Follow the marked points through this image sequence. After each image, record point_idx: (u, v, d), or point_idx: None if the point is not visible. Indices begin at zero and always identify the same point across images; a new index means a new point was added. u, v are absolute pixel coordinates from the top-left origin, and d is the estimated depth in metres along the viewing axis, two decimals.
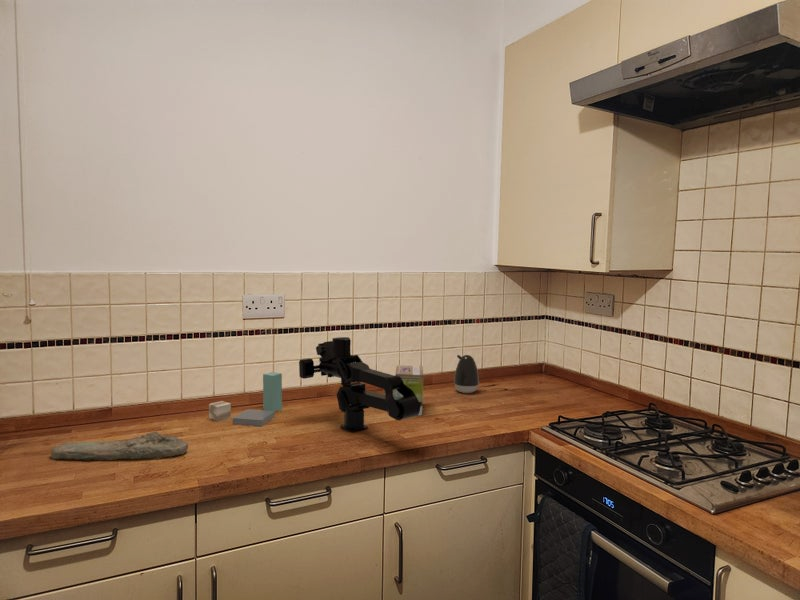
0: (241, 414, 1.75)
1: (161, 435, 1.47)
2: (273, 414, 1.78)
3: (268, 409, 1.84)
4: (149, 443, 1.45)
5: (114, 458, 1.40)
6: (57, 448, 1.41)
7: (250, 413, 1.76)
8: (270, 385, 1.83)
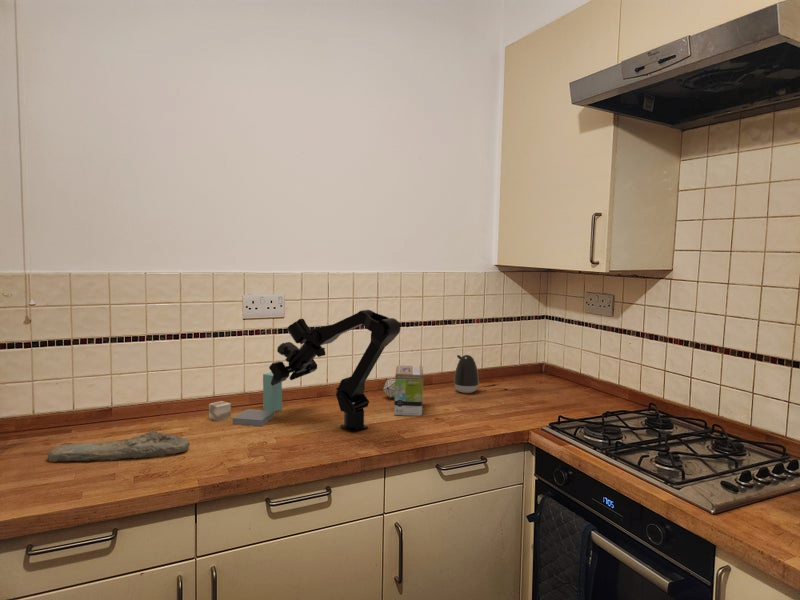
0: (241, 414, 1.75)
1: (161, 434, 1.48)
2: (273, 414, 1.78)
3: (268, 409, 1.84)
4: (150, 442, 1.45)
5: (116, 458, 1.40)
6: (54, 451, 1.40)
7: (250, 413, 1.76)
8: (270, 384, 1.83)
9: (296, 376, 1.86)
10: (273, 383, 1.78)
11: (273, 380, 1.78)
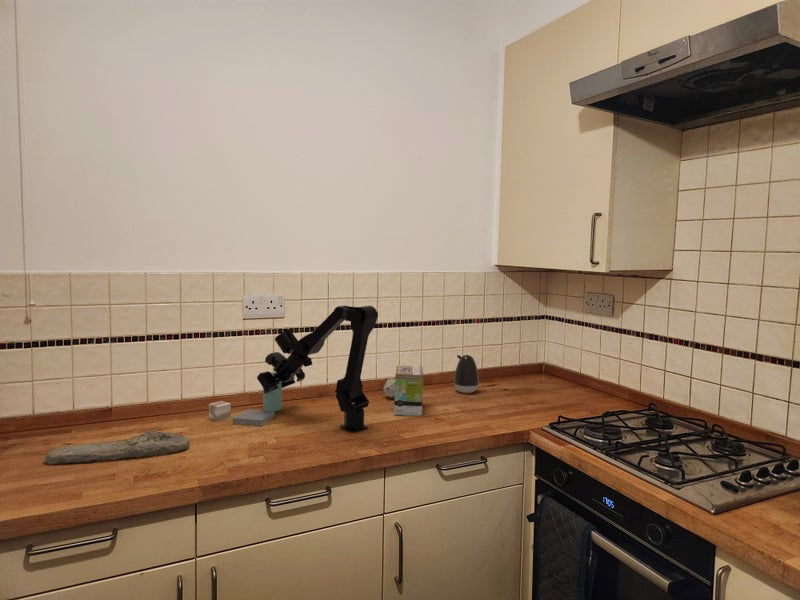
0: (241, 414, 1.75)
1: (161, 432, 1.49)
2: (273, 414, 1.78)
3: (268, 409, 1.84)
4: (151, 441, 1.46)
5: (118, 458, 1.40)
6: (52, 453, 1.38)
7: (250, 413, 1.76)
8: None
9: None
10: (266, 391, 1.83)
11: None
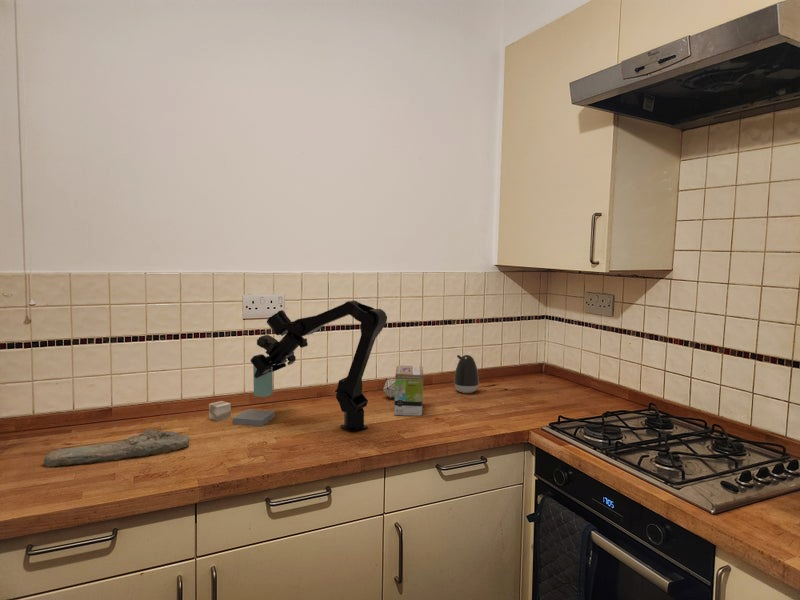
0: (241, 414, 1.75)
1: (161, 431, 1.50)
2: (273, 414, 1.78)
3: (260, 394, 1.79)
4: (151, 440, 1.47)
5: (120, 457, 1.40)
6: (51, 455, 1.36)
7: (250, 413, 1.76)
8: None
9: None
10: (257, 375, 1.77)
11: (257, 372, 1.77)
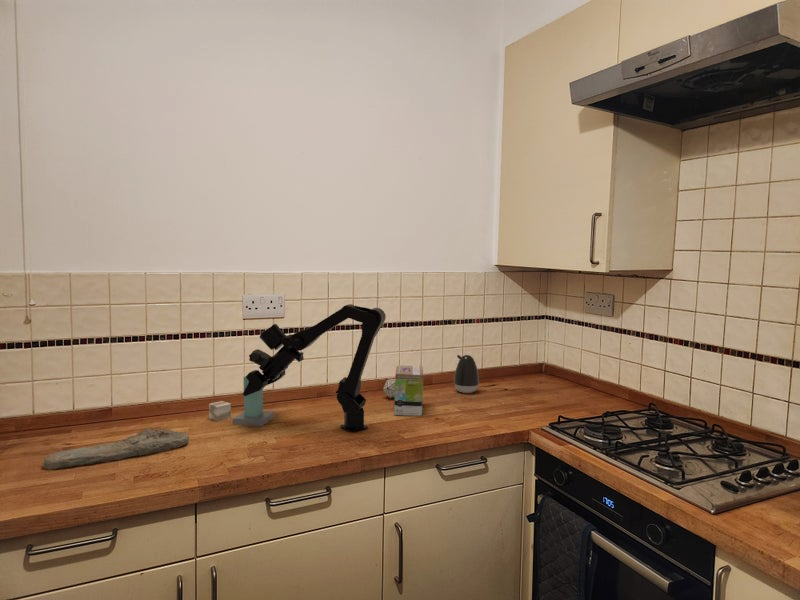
0: (241, 414, 1.75)
1: (159, 430, 1.51)
2: (273, 414, 1.78)
3: (251, 414, 1.72)
4: (150, 439, 1.48)
5: (122, 457, 1.41)
6: (51, 458, 1.35)
7: None
8: None
9: None
10: (247, 393, 1.69)
11: (247, 390, 1.69)
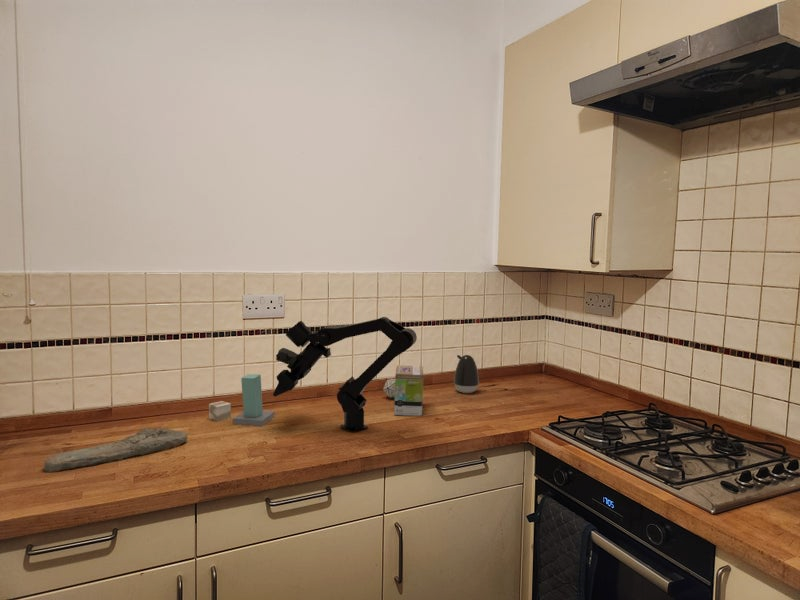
0: (241, 414, 1.75)
1: (157, 429, 1.52)
2: (273, 414, 1.78)
3: (251, 414, 1.72)
4: (150, 438, 1.49)
5: (124, 457, 1.41)
6: (52, 460, 1.33)
7: None
8: (251, 388, 1.71)
9: None
10: (277, 393, 1.68)
11: (277, 390, 1.67)
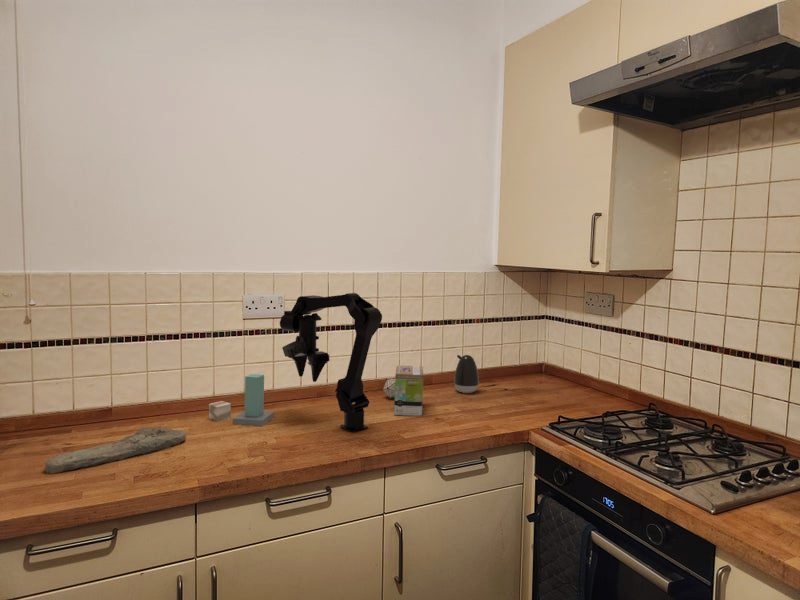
0: (241, 414, 1.75)
1: (156, 428, 1.52)
2: (273, 414, 1.78)
3: (252, 414, 1.72)
4: (149, 437, 1.49)
5: (126, 456, 1.41)
6: (54, 462, 1.32)
7: None
8: (254, 387, 1.72)
9: (303, 367, 1.82)
10: (316, 377, 1.75)
11: (315, 374, 1.74)
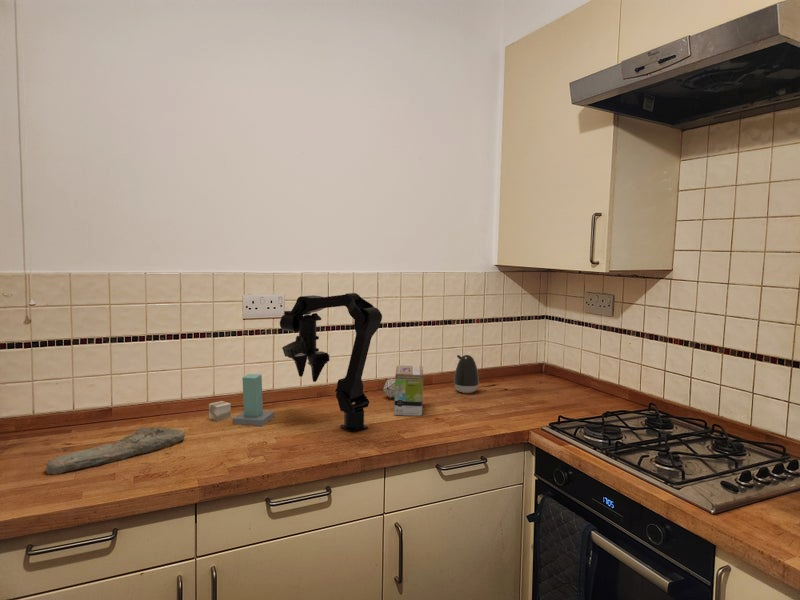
0: (241, 414, 1.75)
1: (155, 428, 1.52)
2: (273, 414, 1.78)
3: (251, 414, 1.72)
4: (148, 437, 1.49)
5: (127, 456, 1.41)
6: (55, 463, 1.32)
7: None
8: (252, 388, 1.71)
9: (303, 367, 1.82)
10: (316, 377, 1.75)
11: (315, 374, 1.74)
